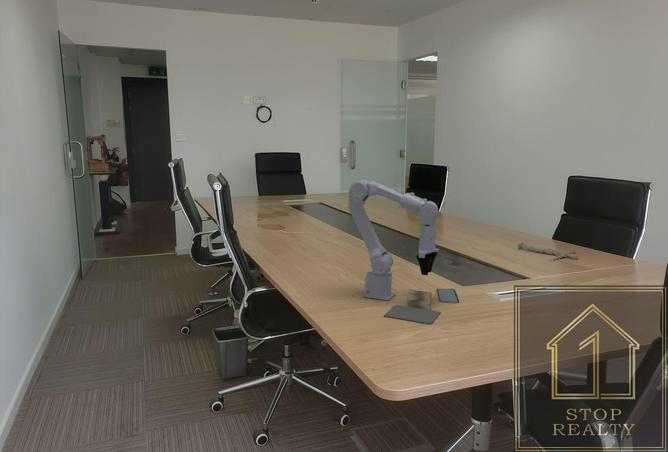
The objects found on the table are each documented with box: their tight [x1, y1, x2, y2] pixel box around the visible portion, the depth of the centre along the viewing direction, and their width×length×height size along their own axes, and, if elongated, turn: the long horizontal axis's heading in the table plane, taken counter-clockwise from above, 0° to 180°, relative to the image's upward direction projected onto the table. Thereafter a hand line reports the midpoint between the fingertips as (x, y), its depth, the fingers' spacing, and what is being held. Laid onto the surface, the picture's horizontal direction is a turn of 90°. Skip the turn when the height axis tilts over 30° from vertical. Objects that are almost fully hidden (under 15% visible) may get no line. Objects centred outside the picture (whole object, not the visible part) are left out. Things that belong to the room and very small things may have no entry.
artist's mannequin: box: [517, 242, 579, 262], centre depth 253 cm, size 28×4×30 cm
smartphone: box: [435, 288, 461, 304], centre depth 186 cm, size 7×1×15 cm
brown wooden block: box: [406, 288, 432, 310], centre depth 172 cm, size 8×2×6 cm, turn 64°
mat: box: [383, 304, 442, 325], centre depth 166 cm, size 16×12×1 cm
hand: (426, 273), depth 178 cm, fingers open, 4 cm apart
